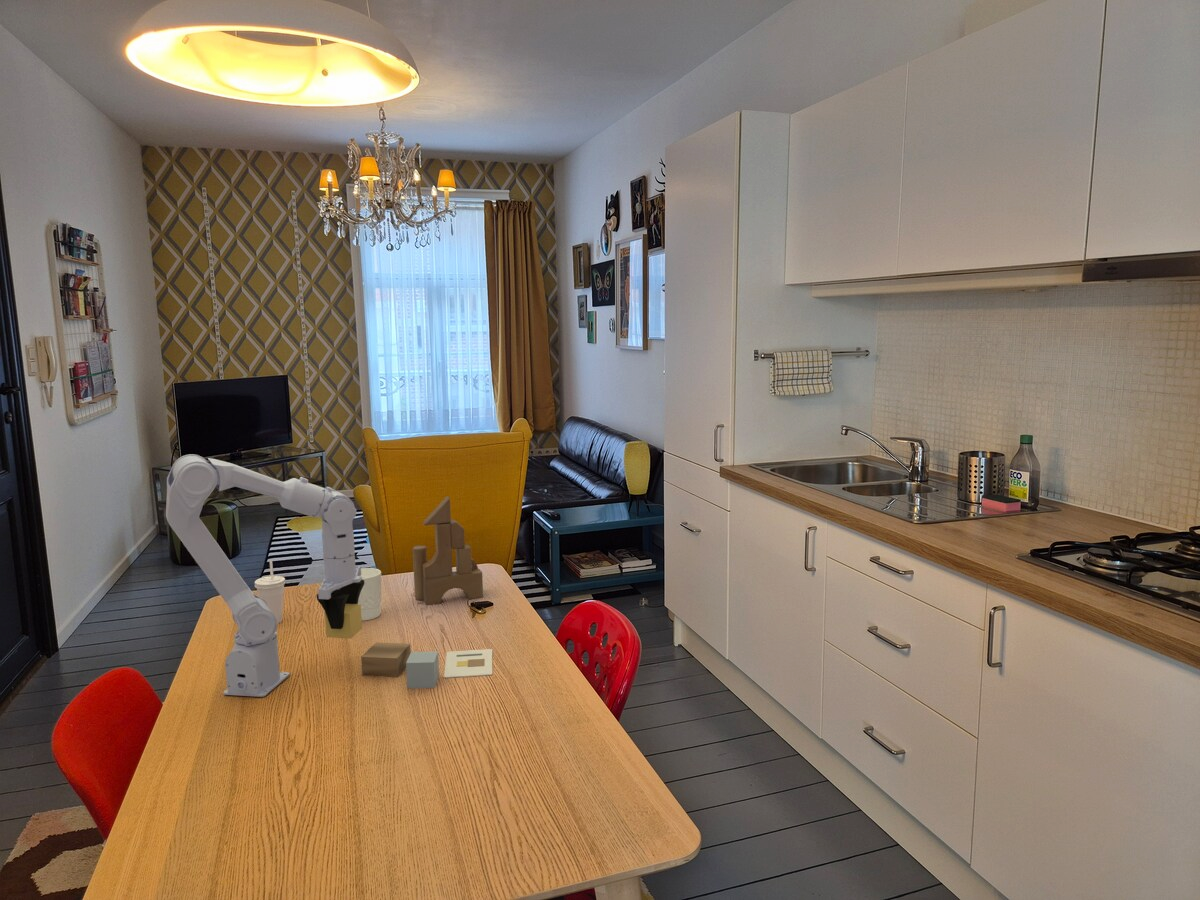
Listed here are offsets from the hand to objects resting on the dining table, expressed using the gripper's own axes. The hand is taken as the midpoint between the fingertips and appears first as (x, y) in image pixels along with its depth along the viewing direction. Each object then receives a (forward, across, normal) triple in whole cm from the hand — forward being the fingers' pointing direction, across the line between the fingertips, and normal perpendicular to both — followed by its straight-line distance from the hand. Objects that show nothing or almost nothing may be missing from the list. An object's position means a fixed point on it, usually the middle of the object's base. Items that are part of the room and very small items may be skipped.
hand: (343, 622), depth 159 cm
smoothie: (+9, +20, +26) cm, 34 cm away
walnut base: (+9, -1, -9) cm, 12 cm away
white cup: (+9, +26, +7) cm, 28 cm away
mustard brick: (+2, 0, 0) cm, 2 cm away
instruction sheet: (+8, +3, -24) cm, 25 cm away
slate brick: (+9, -6, -18) cm, 21 cm away
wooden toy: (+9, +40, -8) cm, 42 cm away
